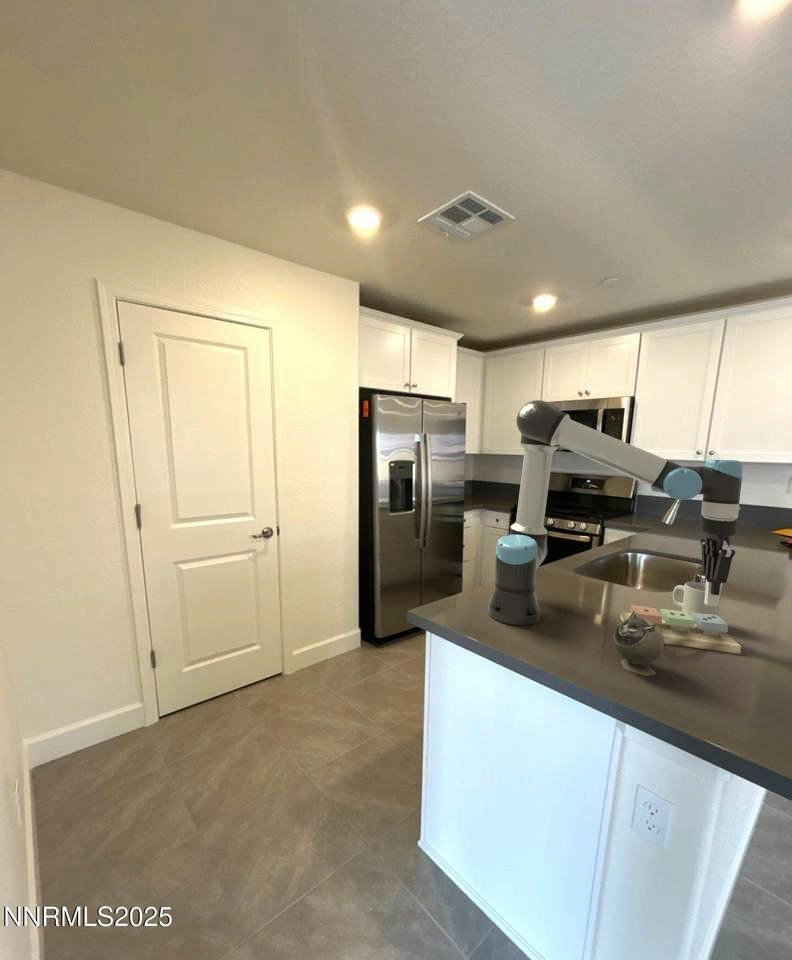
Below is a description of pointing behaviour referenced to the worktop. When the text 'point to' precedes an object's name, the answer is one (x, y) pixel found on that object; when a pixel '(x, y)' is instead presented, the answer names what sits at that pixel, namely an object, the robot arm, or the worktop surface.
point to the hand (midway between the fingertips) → (711, 604)
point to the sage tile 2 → (677, 620)
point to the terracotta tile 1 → (647, 614)
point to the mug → (694, 599)
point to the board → (695, 638)
